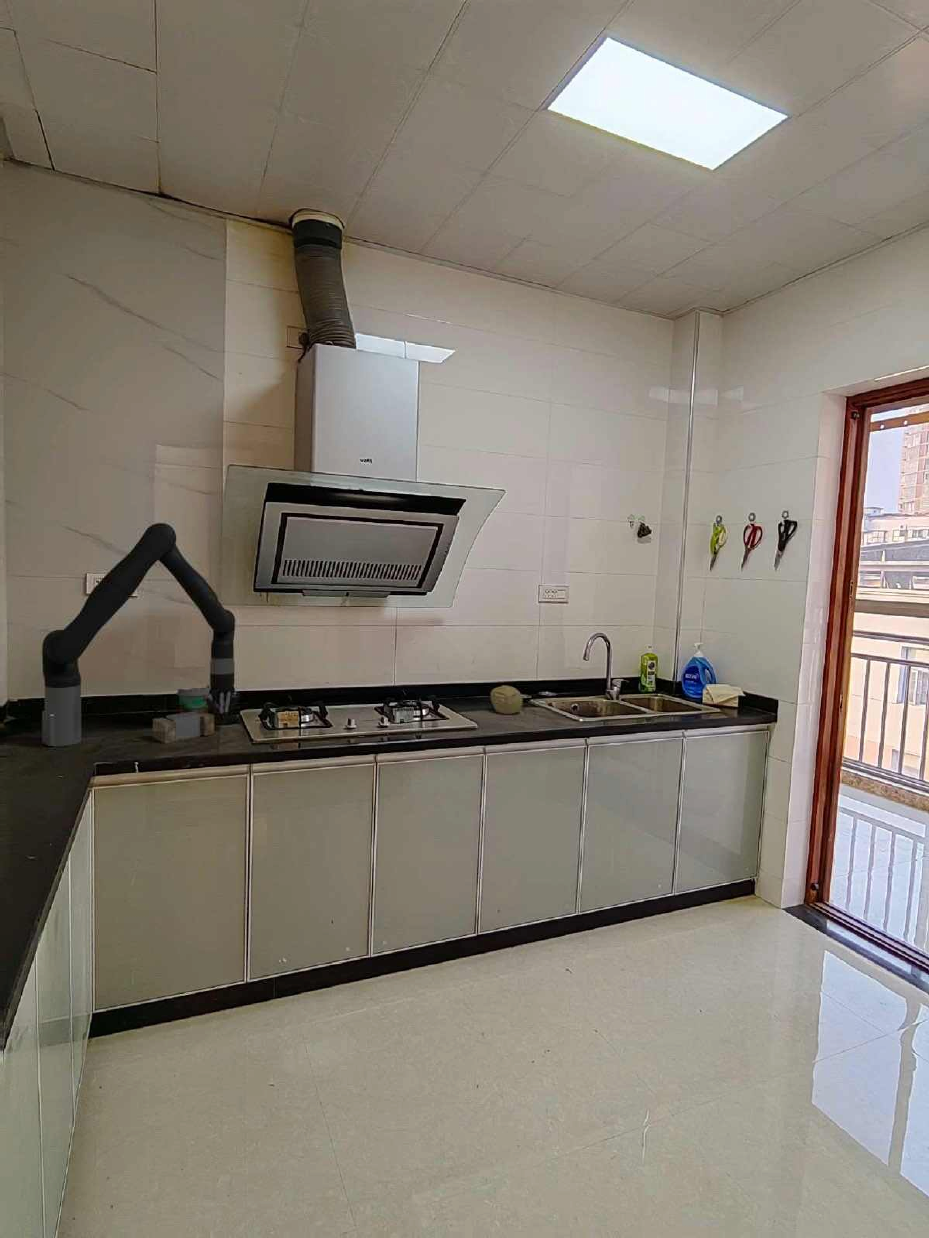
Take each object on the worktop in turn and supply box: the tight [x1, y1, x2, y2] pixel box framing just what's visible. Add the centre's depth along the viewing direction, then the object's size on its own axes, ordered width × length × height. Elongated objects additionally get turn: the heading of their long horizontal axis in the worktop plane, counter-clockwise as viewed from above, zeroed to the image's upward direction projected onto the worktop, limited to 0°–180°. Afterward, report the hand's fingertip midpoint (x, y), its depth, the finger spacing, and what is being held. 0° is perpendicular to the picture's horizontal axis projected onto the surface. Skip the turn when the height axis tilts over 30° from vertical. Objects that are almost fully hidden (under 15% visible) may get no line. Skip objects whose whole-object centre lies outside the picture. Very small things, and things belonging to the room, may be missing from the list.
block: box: [165, 712, 202, 741], centre depth 218 cm, size 9×5×7 cm, turn 139°
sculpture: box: [490, 684, 524, 715], centre depth 274 cm, size 11×12×11 cm
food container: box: [176, 684, 211, 714], centre depth 244 cm, size 12×6×10 cm, turn 143°
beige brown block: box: [152, 717, 176, 744], centre depth 213 cm, size 3×8×6 cm, turn 49°
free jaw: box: [196, 711, 215, 736], centre depth 222 cm, size 3×8×6 cm, turn 49°
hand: (222, 723), depth 227 cm, fingers closed
